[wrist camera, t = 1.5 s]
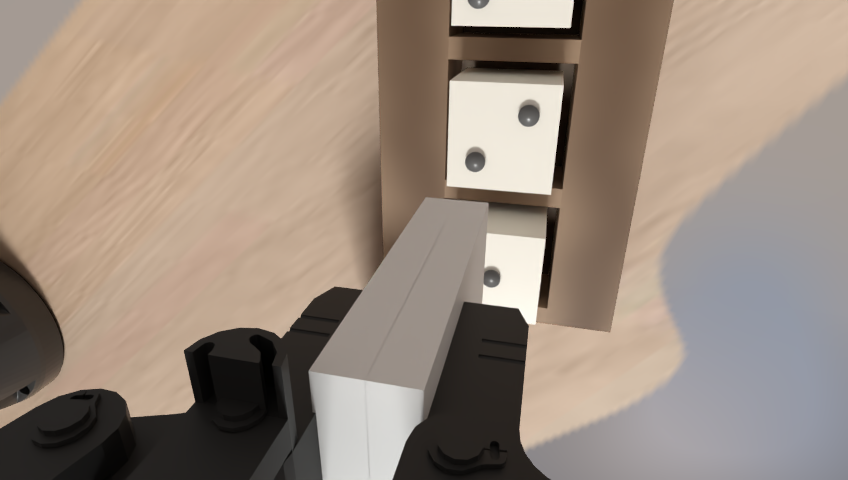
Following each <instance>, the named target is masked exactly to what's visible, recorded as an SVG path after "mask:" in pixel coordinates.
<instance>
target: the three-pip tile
mask: <svg viewBox="0 0 848 480" xmlns="http://www.w3.org/2000/svg"><path fill="white" fill-rule="evenodd" d="M573 4H574V0H452V19H451V26H494V27H544V28H571V21H572V12H573Z"/></svg>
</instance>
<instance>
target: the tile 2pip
mask: <svg viewBox="0 0 848 480" xmlns="http://www.w3.org/2000/svg"><path fill="white" fill-rule="evenodd" d="M563 88H564V80H563V71H550V70H523V69H496V68H466V69H465V70H463V71H462V72H461V73H459V74H458V75H457V76H455V77H454V78H453V79H451V80H450V89H449V123H448V158H447V186H451V187H463V188H475V189H487V190H498V191H510V192H522V193H534V194H546V195H551V190H552V181H553V173H554V164H555V156H556V148H557V139H558V131H559V122H560V114H561V105H562V97H563Z"/></svg>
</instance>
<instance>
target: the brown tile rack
mask: <svg viewBox="0 0 848 480" xmlns="http://www.w3.org/2000/svg"><path fill="white" fill-rule="evenodd" d="M376 2H377V40H378V77H379V114H380V151H381V189H382V226H383V260H384V258H385V257H386V255H387V254H388V252H389V251H390V250H391V248H392V247H393V245H394V244H395V242H396V241H397V239H398V238H399V236H400V235H401V233H402V232H403V230H404V229H405V227H406V226H407V224H408V223H409V221H410V220H411V218H412V217H413V215H414V214H415V212H416V211H417V210H418V208H419V207H420V205H421V204H422V202H423V201H424V199H425V198H426V197H429V198H440V199H451V200H456V199H464V200H475V201H486V202H498V203H509V204H520V205H531V206H542V207H554V208H557V211H556V219H555V227H554V235H553V243H552V251H551V259H550V267H549V275H544V274H541V283H540V291H539V300H538V308H537V317H536V322H538V323H545V324H552V325H560V326H567V327H575V328H582V329H590V330H597V331H605V332H610V330H611V325H612V320H613V315H614V310H615V304H616V299H617V294H618V289H619V283H620V278H621V273H622V268H623V263H624V257H625V252H626V247H627V242H628V236H629V231H630V226H631V221H632V216H633V210H634V205H635V200H636V195H637V189H638V184H639V179H640V174H641V169H642V163H643V158H644V153H645V148H646V143H647V137H648V132H649V127H650V122H651V116H652V111H653V106H654V101H655V96H656V90H657V85H658V80H659V75H660V69H661V64H662V59H663V54H664V49H665V43H666V38H667V33H668V28H669V22H670V17H671V12H672V7H673V2H674V0H583V3H582V11H581V19H580V27H579V35H564V34H520V33H476V32H463V26H451V19H452V0H376ZM462 60H484V61H513V62H543V63H573V64H575V67H574V75H573V83H572V91H571V99H570V107H569V115H568V123H567V131H566V139H565V147H564V155H563V163H562V167H557V166H554V173H553V181H552V190H551V195H546V194H534V193H522V192H510V191H498V190H487V189H475V188H463V187H451V186H447V158H448V123H449V89H450V80H451V79H453V78H454V77H455V76H457V75H458V74H459V73H461V66H462Z"/></svg>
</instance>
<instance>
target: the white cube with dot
mask: <svg viewBox="0 0 848 480" xmlns="http://www.w3.org/2000/svg"><path fill="white" fill-rule="evenodd" d="M460 200H463V201H474V202H485V203H489V206H488V222H487V237H486V252H485V268H484V283H483V298H482V304H487V305H495V306H503V307H510V308H518V309H519V310H520V312H521V314H522V315H523V317H524V319H525V321H526V322H527V324H534V325H536V317H537V308H538V300H539V291H540V283H541V274H542V266H543V258H544V249H545V241H546V224H547V207H542V206H531V205H520V204H509V203H498V202H486V201H475V200H464V199H460Z"/></svg>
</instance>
